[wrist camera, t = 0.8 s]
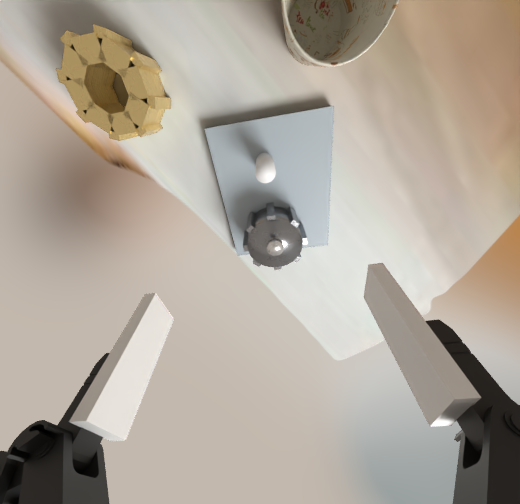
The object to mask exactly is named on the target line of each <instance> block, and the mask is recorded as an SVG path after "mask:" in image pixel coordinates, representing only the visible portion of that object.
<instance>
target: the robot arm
mask: <svg viewBox="0 0 520 504" xmlns="http://www.w3.org/2000/svg"><path fill="white" fill-rule="evenodd" d="M364 299H365V301H366V303H367V305H368V307H369V308H370V310H371V312H372V314H373V316H374V318H375V320H376V322H377V324H378V326H379V328H380V330H381V332H382V334H383V336H384V338H385V340H386V342H387V344H388V346H389V347H390V349H391V351H392V353H393V355H394V357H395V359H396V361H397V363H398V365H399V367H400V369H401V371H402V373H403V375H404V377H405V379H406V381H407V383H408V385H409V387H410V388H411V390H412V392H413V394H414V396H415V398H416V400H417V402H418V404H419V406H420V408H421V410H422V412H423V414H424V416H425V418H426V420H427V422H428V423H429V425H430V426H448V425H449V426H450V425H452V424H453V423H454V422H455V421H457V422H458V423H459V425H460V426H461V428H462V430H461V431H460V432H459V433H458V434H457V435H456V437H455V439H454V440H456V441H457V442H458V441H460V450H459V458H458V465H457V474H456V482H455V490H454V499H453V504H520V405H518V404H516V403H515V402H514V401H513V400H511V399H510V398H509V396H508V395H507V394H506V393H505V392H504V391H503V390H502V389H501V388H500V387H499V385H498V384H497V383H496V381H495V380H494V379H493V378H492V377H491V375H490V374H489V373H488V372H487V371H486V369H485V368H484V367H483V366H482V364H481V363H480V362H479V361H478V360H477V358H476V357H475V356H474V355H473V354H471V352H470V350H469V349H468V348H467V346H466V345H465V344H463V343H462V340H461V339H460V338H459V337H458V335H457V334H456V333H455V332H454V331H453V329H451V328H450V327H449V326H447V325H446V324H444V323H443V322H442V321H440V320H431V321H425V320H424V319H423V317H422V316H421V315H420V313H419V312H418V310H417V309H416V308H415V306H414V305H413V304H412V302H411V301H410V300H409V298H408V297H407V295H406V294H405V293H404V291H403V290H402V289H401V287H400V286H399V285H398V283H397V282H396V280H395V279H394V278H393V276H392V275H391V274H390V272H389V271H388V270H387V268H386V267H385V265H384V264H383V263H378V264H370V265H368V272H367V278H366V285H365V291H364ZM173 320H174V318H173V317H172V316H171V314H170V313H169V311H168V310H167V308H166V307H165V305H164V304H163V303H162V301H161V300H160V298H159V297H158V295H157V294H156V293H152V294H145V295H144V297H143V298H142V300H141V302H140V303H139V305H138V307H137V309H136V310H135V312H134V314H133V315H132V317H131V319H130V320H129V322H128V324H127V325H126V327H125V329H124V330H123V332H122V334H121V335H120V337H119V339H118V340H117V342H116V344H115V345H114V347H113V349H112V350H111V352H110V353H106V354H105V355H104V356H103V357H102V358H101V359H100V360H99V362H97V363H96V365H95V366H94V368H93V370H92V371H91V373H90V376H89V377H88V378H87V379H86V381H85V383H84V386H82V387H81V389H80V390H79V392H78V394H77V396H76V397H75V399H74V400H73V402H72V403H71V405H70V407H69V408H68V410H67V411H66V413H65V415H64V416H63V418H62V419H61V421H60V422H59V424H58V425H54V424H52V423H49V422H47V421H45V420H41V421H37V422H35V423H33V424H32V425H30V426H29V427H27V428H26V429H25V430H24V431H23V432H22V433H21V434H20V435H19V436H18V437H17V438H16V439H15V440H14V442H13V443H12V445H11V447H10V448H9V450H8V452H4V451H0V504H109V497H108V488H107V480H106V471H105V462H104V453H103V447H102V445H101V444H100V443H101V440H102V438H105V439H108V440H110V441H123V440H126V438H127V435H128V433H129V431H130V428H131V426H132V423H133V421H134V418H135V416H136V413H137V411H138V408H139V406H140V403H141V400H142V398H143V395H144V393H145V390H146V388H147V385H148V383H149V380H150V378H151V375H152V373H153V370H154V368H155V365H156V363H157V360H158V358H159V355H160V353H161V350H162V348H163V345H164V343H165V340H166V338H167V335H168V333H169V330H170V328H171V325H172V322H173Z"/></svg>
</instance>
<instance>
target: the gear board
mask: <svg viewBox="0 0 520 504" xmlns="http://www.w3.org/2000/svg"><path fill="white" fill-rule="evenodd" d="M333 119H334V106H327V107H322V108H316V109H310V110H305V111H299V112H294V113H288V114H282V115H277V116H271V117H265V118H260V119H254V120H248V121H243V122H237V123H231V124H226V125H220V126H214V127H209V128H205V133H206V137H207V141H208V145H209V148H210V152H211V156H212V160H213V164H214V168H215V171H216V175H217V179H218V183H219V187H220V190H221V194H222V198H223V202H224V206H225V210H226V213H227V217H228V221H229V225H230V229H231V233H232V236H233V240H234V244H235V248H236V252H237V256H239V255H248V254H250V253H249V251H246V252H244V249H243V239H244V232H245V230H246V229H247V220H248V216H249V214H250V213H251V212H254V213H255V214H256V213H257V212H258V211H260V210H261V209H263V208H266V207H267V205H266V203H271V202H274V206H278V207H283V208H285V209H288V208H289V206H290V207H292V208H293V209H294V210H295V211H296V214H297V217H298V220H299V223H302V224H303V227H304V230H305V233H306V236H307V244H305V245H303V246H302V248H307V247H315V246H324V245H328V232H329V210H330V187H331V164H332V142H333Z"/></svg>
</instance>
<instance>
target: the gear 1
mask: <svg viewBox="0 0 520 504" xmlns="http://www.w3.org/2000/svg"><path fill="white" fill-rule="evenodd" d="M93 29H94V32H93V33H88V34H84V35H78V34H76V33H73V32H70V31H68V30H66V32H65V33H64V34H63V36H62V37H61V38H60V40H61V41H62V42H63V43H64V44H65V46H64V53H63V60H62V67H61V69H57V68H56V71H57V75H58V79H59V82H60V83H64V84H65V86H66V88H67V90H68V92H69V94H70V96H71V98H72V99H73V101H74V103H75V105H76V107H77V109H78V111H77V112H76V113H77V114H78V115H79V117H80V118H81V119H82V120H83V121H84V122H85V123H87V122H92V123H93V124H95V125H96V126H98V127H100V128H101V129H103V130H104V131H106V132H107V133H109V138H110V139H114V140H118V141H121V140H125V139H129V138H132V137H136V136H140V137H143V136H146V135H150V134H154V133H157V132H158V131H159V130H161V129H162V128H163V127H162V126H161V125H160V122H161V119H162V117H163V114H164V111H165V109H171V98H169V97H166V95H165V92H164V89H163V86H162V82H161V79H160V76H159V73H160V72H161V71H162V70H161V69H160V67H159V66H158V64H157V63H156V61H155V60H154V59H152V58H149V57H147V56H145V55H142V54H140V53H138V52H137V51H135V50H134V49H133V48H132V41H131V40H129V39H127V38H125V37H123V36H121V35H119V34H117V33H115V32H113V31H111V30H108V29H106V28H104V27H101V26H97V25H94V24H93ZM116 72H117V73H118V74H119V75H121V78H122V80H123V83H124V85H125V88H126V90H127V92H128V95H129V98H128V101H127V104H126V107H125V106H123V105H122V104H120V103H119V100H118V98H117V96H116V93H115V91H114V89H113V83H114V79H115V75H116Z"/></svg>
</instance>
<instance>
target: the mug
mask: <svg viewBox="0 0 520 504" xmlns="http://www.w3.org/2000/svg"><path fill="white" fill-rule="evenodd" d="M398 2H399V0H281V8H282V15H283V23H284V30H285V37H286V42H287V46H288V48H289V51H290V53H291V54H292V56H293V57H294V58H295V59H296V60H297V61H298V62H300V63H302V64H304V65H309V66H319V67H336V66H340V65H344V64H346V63H349V62H351V61H353V60H354V59H356V58H358V57H359V56H361V55H362V54H363V53H364V52H366V51H367V50H368V49H369V48H370V47H371V46H372V45H373V44H374V43H375V41H376V40H377V39H378V38H379V37H380V35H381V34H382V32H383V31H384V30H385V28H386V27H387V25H388V23H389V21H390V20H391V18H392V16H393V14H394V12H395V10H396V7H397V5H398Z"/></svg>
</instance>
